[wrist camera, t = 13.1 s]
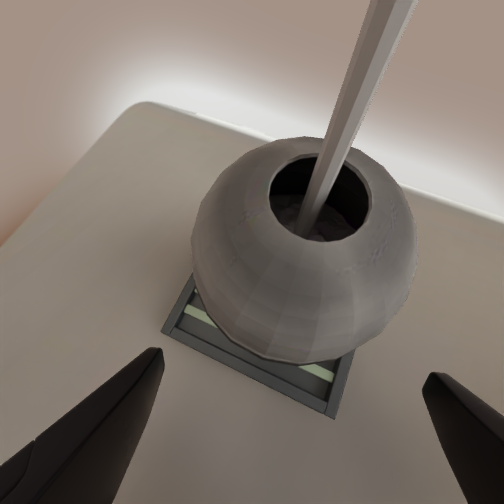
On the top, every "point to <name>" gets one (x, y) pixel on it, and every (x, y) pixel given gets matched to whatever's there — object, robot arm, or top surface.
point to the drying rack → (266, 372)
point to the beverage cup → (311, 228)
